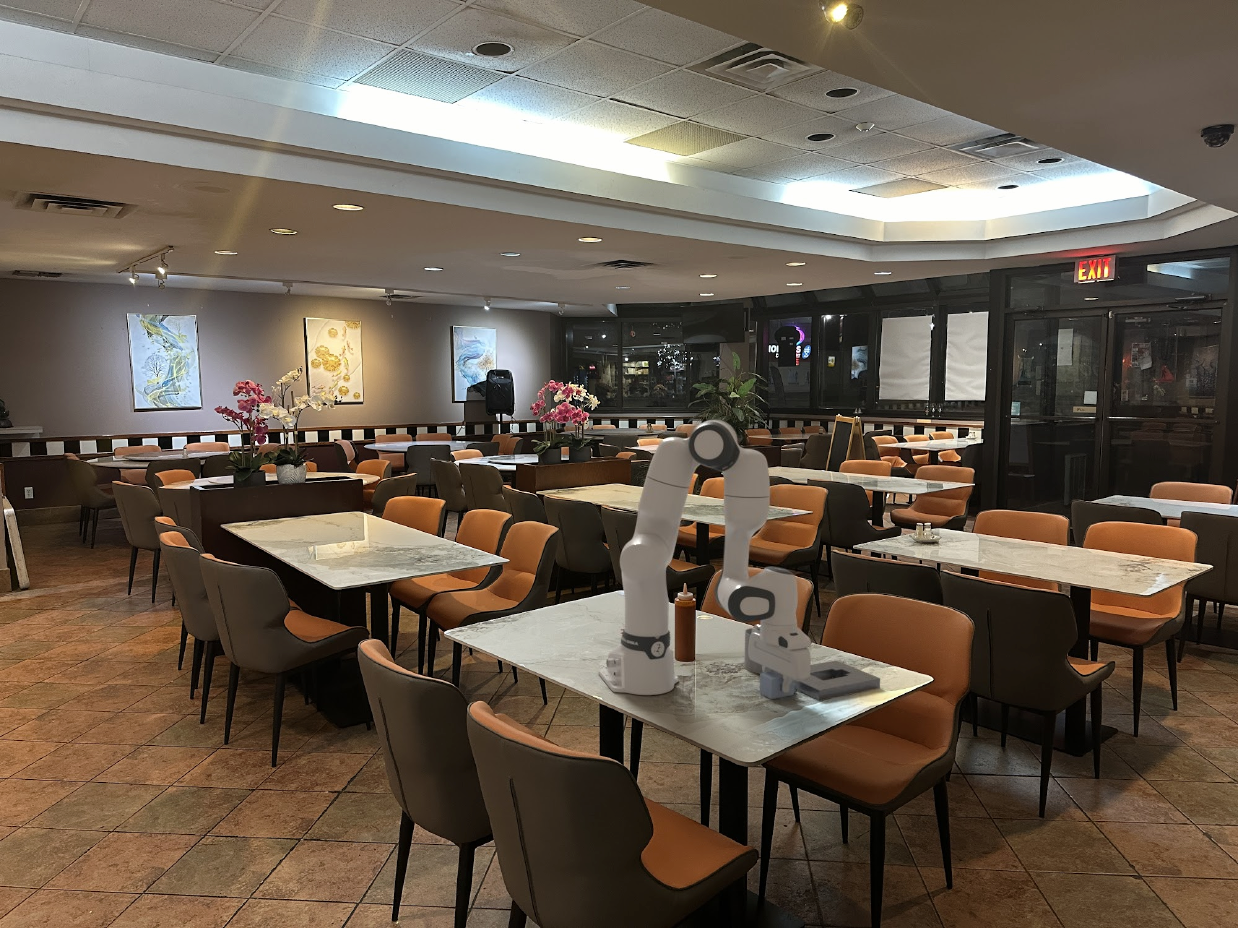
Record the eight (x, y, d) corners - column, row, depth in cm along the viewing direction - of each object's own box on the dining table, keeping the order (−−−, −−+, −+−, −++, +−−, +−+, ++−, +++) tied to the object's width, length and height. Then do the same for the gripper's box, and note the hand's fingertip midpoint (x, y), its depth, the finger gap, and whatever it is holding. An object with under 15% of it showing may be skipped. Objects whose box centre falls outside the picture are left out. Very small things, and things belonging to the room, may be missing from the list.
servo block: (759, 693, 201) (760, 669, 200) (786, 687, 205) (787, 664, 204) (771, 699, 197) (771, 674, 196) (798, 693, 201) (799, 670, 200)
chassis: (777, 680, 210) (777, 670, 210) (835, 669, 220) (836, 660, 220) (818, 700, 196) (819, 690, 196) (879, 687, 206) (880, 678, 205)
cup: (741, 670, 218) (742, 634, 217) (747, 661, 226) (748, 626, 225) (772, 674, 215) (773, 637, 214) (777, 665, 223) (778, 629, 222)
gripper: (742, 623, 207) (741, 676, 208) (794, 645, 189) (793, 703, 190) (762, 621, 210) (761, 673, 211) (815, 641, 192) (814, 698, 193)
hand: (776, 687), depth 200 cm, fingers closed on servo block, 4 cm apart
